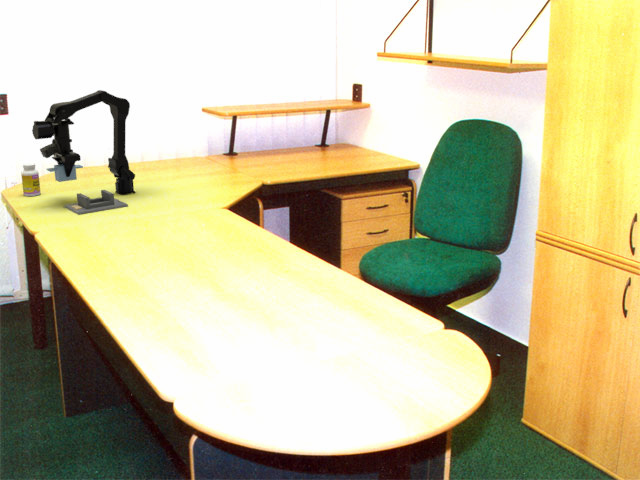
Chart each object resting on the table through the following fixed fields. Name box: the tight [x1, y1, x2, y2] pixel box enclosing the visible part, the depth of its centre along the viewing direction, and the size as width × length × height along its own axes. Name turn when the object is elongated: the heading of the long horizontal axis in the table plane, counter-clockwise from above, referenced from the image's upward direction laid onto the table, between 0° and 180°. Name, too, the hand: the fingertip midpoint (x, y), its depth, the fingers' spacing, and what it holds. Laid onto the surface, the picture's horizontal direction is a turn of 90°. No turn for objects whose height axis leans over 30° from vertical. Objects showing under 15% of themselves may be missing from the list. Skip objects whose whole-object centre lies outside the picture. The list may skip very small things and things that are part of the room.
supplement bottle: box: [21, 162, 41, 197], centre depth 295 cm, size 7×7×13 cm
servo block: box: [46, 163, 84, 183], centre depth 282 cm, size 13×4×6 cm, turn 130°
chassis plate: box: [63, 189, 129, 216], centre depth 279 cm, size 20×14×5 cm
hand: (65, 175), depth 283 cm, fingers closed on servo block, 4 cm apart
